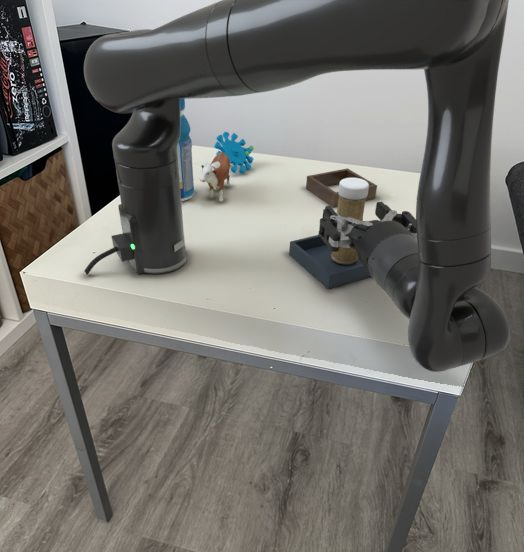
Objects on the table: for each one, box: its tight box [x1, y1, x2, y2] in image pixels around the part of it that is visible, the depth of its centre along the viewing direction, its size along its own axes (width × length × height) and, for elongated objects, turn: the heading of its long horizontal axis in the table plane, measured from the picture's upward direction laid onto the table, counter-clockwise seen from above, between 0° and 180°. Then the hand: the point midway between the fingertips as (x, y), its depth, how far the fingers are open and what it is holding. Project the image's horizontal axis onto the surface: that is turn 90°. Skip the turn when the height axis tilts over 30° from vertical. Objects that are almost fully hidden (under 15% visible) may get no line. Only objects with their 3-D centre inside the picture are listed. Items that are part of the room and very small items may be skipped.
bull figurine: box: [199, 151, 231, 203], centre depth 106 cm, size 4×13×8 cm, turn 168°
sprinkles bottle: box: [331, 178, 369, 265], centre depth 84 cm, size 5×5×13 cm
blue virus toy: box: [213, 131, 255, 175], centre depth 120 cm, size 11×6×10 cm
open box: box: [305, 168, 378, 208], centre depth 110 cm, size 11×11×3 cm
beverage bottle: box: [177, 99, 195, 202], centre depth 102 cm, size 8×8×20 cm
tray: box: [288, 234, 372, 290], centre depth 88 cm, size 14×12×2 cm
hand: (352, 209), depth 82 cm, fingers open, 8 cm apart
